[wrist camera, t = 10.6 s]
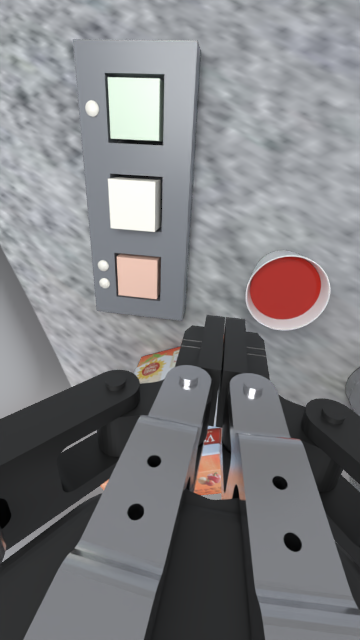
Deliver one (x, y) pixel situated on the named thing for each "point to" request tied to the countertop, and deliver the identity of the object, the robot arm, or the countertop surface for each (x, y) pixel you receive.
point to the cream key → (135, 203)
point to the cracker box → (210, 468)
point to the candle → (287, 291)
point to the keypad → (139, 165)
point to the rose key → (139, 275)
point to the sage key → (136, 108)
